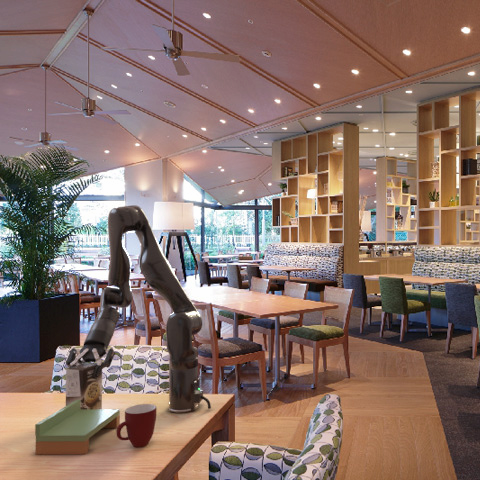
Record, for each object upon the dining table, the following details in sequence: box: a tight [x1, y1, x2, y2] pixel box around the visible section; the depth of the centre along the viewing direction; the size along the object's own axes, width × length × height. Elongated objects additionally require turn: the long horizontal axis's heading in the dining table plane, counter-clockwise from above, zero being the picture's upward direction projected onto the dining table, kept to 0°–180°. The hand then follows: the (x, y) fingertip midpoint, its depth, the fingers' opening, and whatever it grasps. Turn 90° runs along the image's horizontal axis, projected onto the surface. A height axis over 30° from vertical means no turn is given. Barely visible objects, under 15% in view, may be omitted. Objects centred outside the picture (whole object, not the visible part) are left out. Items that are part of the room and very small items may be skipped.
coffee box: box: [65, 362, 103, 410], centre depth 159 cm, size 9×6×16 cm
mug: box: [115, 403, 157, 448], centre depth 135 cm, size 10×8×10 cm
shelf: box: [34, 400, 121, 455], centre depth 140 cm, size 13×20×8 cm, turn 2°
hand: (81, 377), depth 157 cm, fingers closed on coffee box, 7 cm apart
